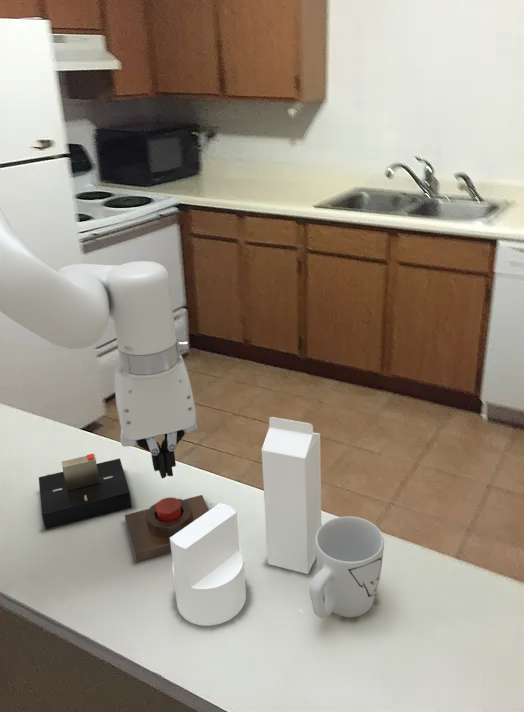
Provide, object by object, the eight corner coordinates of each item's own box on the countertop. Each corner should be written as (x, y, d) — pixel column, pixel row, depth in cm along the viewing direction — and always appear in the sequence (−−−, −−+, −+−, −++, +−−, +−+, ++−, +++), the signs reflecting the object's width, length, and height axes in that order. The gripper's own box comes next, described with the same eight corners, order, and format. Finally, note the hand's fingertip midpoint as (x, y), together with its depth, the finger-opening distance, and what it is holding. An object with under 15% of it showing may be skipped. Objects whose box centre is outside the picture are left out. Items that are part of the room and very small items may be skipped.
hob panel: (45, 530, 101) (41, 513, 99) (42, 492, 109) (38, 476, 108) (132, 507, 105) (129, 491, 103) (122, 473, 113) (119, 457, 112)
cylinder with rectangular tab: (212, 563, 93) (205, 492, 88) (260, 594, 88) (255, 520, 83) (162, 602, 87) (151, 528, 82) (210, 637, 81) (201, 561, 76)
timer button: (159, 525, 96) (158, 515, 95) (154, 510, 99) (153, 500, 98) (184, 518, 97) (183, 509, 96) (178, 504, 100) (177, 494, 99)
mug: (342, 653, 79) (342, 589, 75) (287, 617, 84) (285, 555, 80) (394, 595, 86) (397, 534, 82) (342, 566, 92) (342, 507, 88)
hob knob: (67, 491, 104) (62, 465, 102) (66, 485, 106) (61, 460, 104) (99, 483, 106) (95, 457, 104) (98, 477, 107) (94, 452, 105)
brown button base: (136, 562, 94) (133, 543, 92) (126, 523, 101) (123, 505, 100) (218, 539, 97) (217, 520, 96) (202, 503, 105) (201, 485, 104)
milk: (283, 537, 97) (277, 405, 89) (322, 546, 95) (320, 411, 87) (267, 565, 92) (259, 428, 83) (308, 575, 90) (304, 435, 81)
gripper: (197, 335, 93) (209, 446, 101) (87, 355, 88) (108, 470, 96) (211, 356, 87) (223, 473, 94) (94, 379, 82) (116, 501, 89)
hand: (165, 471), depth 95 cm, fingers closed
